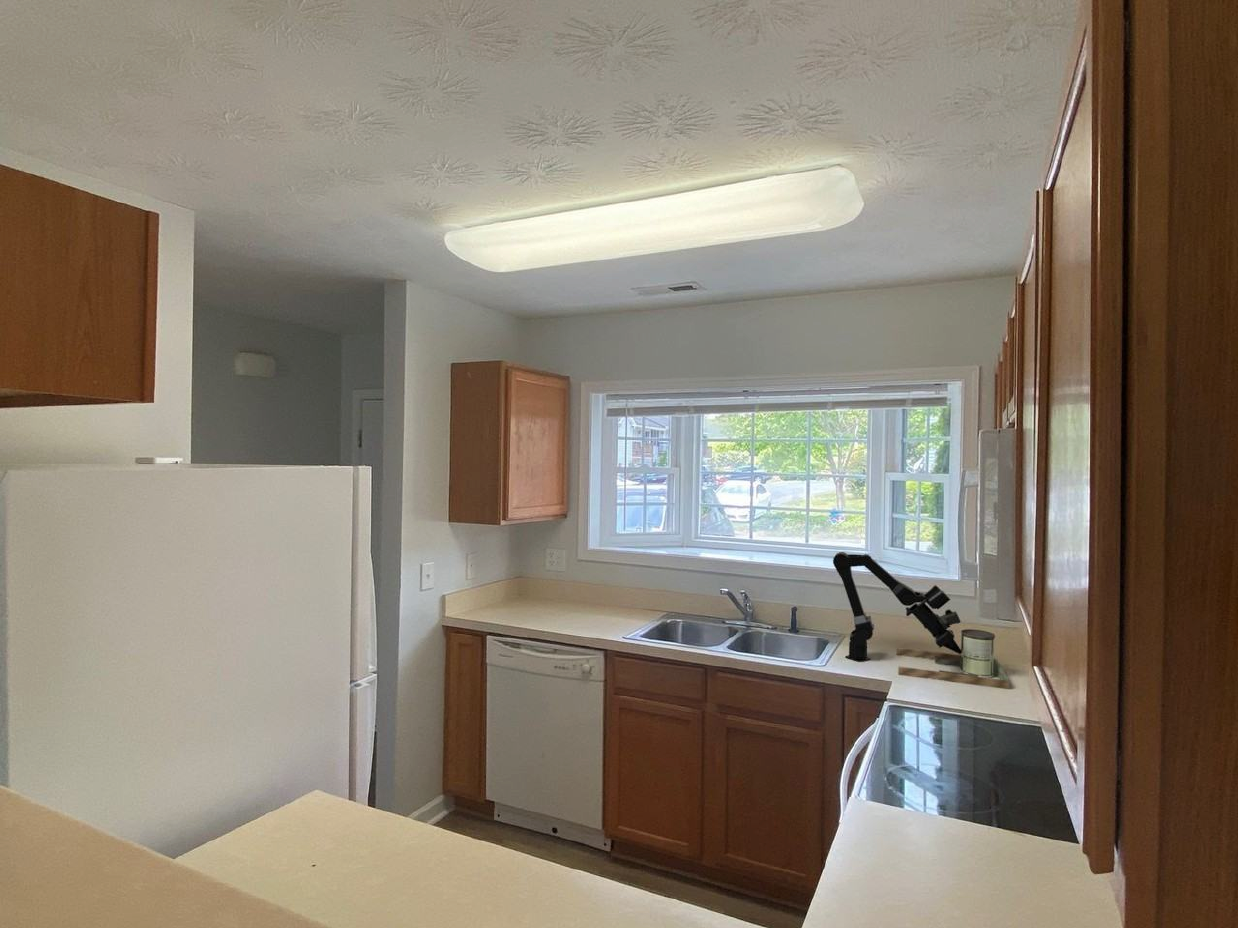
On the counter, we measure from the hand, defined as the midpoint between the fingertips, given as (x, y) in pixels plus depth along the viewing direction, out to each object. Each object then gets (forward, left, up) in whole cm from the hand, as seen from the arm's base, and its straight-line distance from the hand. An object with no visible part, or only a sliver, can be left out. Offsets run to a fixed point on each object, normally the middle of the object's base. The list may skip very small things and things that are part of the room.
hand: (961, 652), depth 237 cm
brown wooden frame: (-2, +3, -7) cm, 8 cm away
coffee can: (+3, -4, -7) cm, 9 cm away
